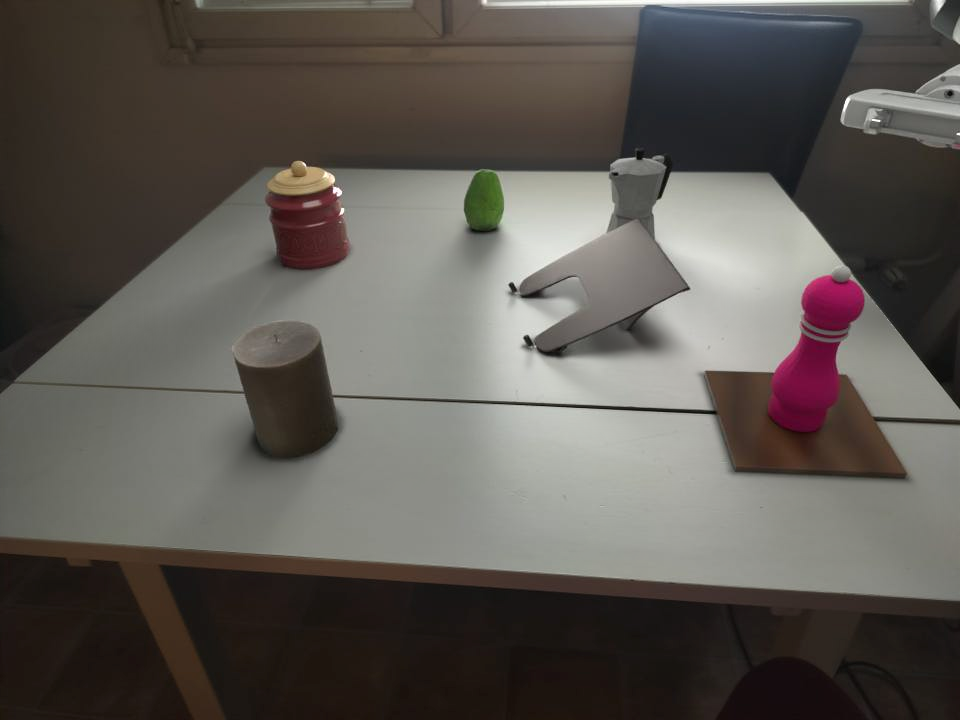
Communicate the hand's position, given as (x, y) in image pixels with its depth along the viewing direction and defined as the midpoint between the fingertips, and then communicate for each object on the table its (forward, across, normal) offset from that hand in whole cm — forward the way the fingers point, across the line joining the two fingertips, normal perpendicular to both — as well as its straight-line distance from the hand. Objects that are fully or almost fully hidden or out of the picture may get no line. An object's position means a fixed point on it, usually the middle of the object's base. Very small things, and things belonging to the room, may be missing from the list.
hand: (914, 134), depth 77 cm
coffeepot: (-9, -40, +30) cm, 51 cm away
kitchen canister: (+33, -81, +30) cm, 92 cm away
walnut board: (+21, +2, +30) cm, 36 cm away
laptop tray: (+17, -32, +30) cm, 47 cm away
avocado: (+4, -66, +30) cm, 72 cm away
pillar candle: (+63, -41, +30) cm, 81 cm away
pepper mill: (+20, +2, +28) cm, 35 cm away
